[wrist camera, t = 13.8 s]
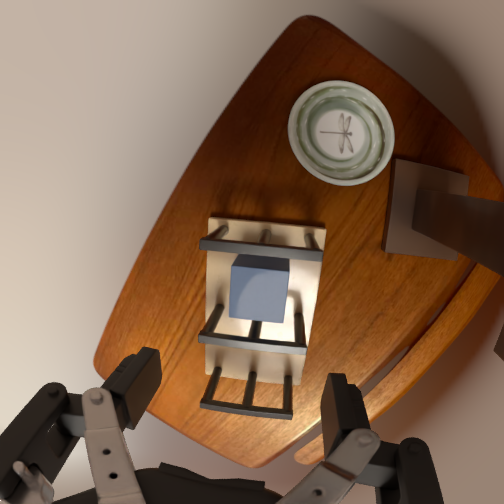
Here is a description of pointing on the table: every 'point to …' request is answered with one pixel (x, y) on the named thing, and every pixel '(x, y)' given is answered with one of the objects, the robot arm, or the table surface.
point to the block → (259, 288)
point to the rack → (259, 332)
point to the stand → (442, 219)
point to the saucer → (341, 133)
